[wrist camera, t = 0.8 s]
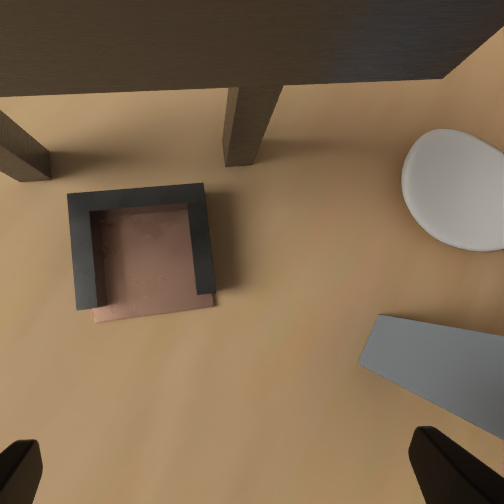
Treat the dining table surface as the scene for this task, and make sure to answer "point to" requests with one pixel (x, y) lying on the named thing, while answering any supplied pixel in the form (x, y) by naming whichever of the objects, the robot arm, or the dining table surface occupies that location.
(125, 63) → the overhang seat
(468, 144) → the spoon
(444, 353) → the blue-grey rectangular block
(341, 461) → the dining table surface
